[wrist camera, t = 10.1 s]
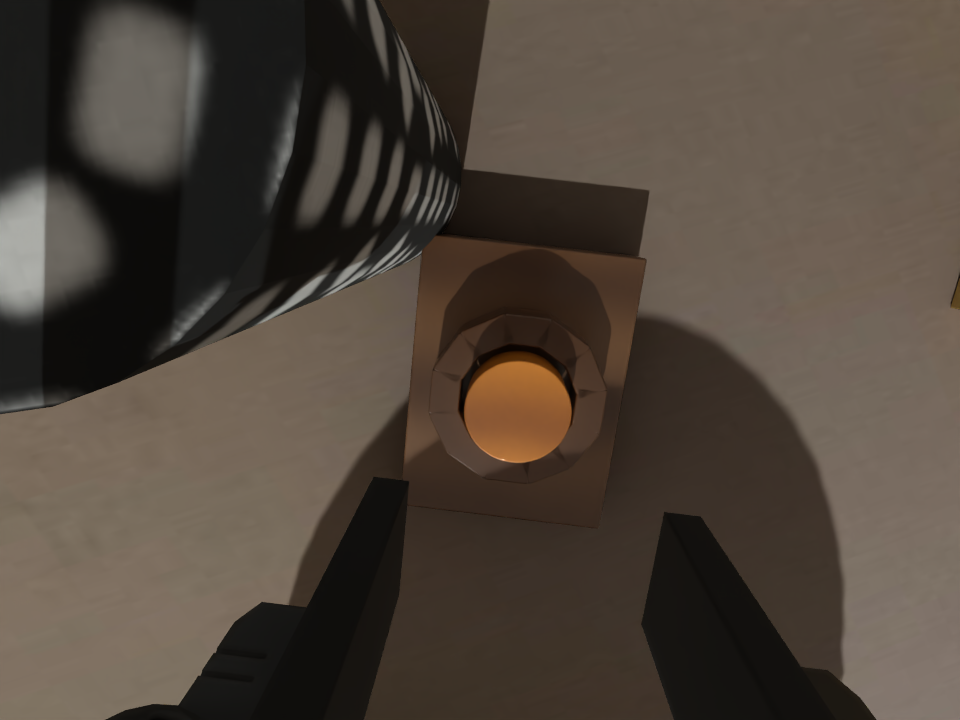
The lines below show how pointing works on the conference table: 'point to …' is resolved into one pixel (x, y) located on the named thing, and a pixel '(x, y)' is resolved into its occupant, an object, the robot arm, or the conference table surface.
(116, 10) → the spotted tube
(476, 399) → the button
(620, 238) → the conference table surface
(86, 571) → the conference table surface
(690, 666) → the robot arm
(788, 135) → the conference table surface
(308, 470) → the conference table surface
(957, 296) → the switch bracket
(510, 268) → the button block
